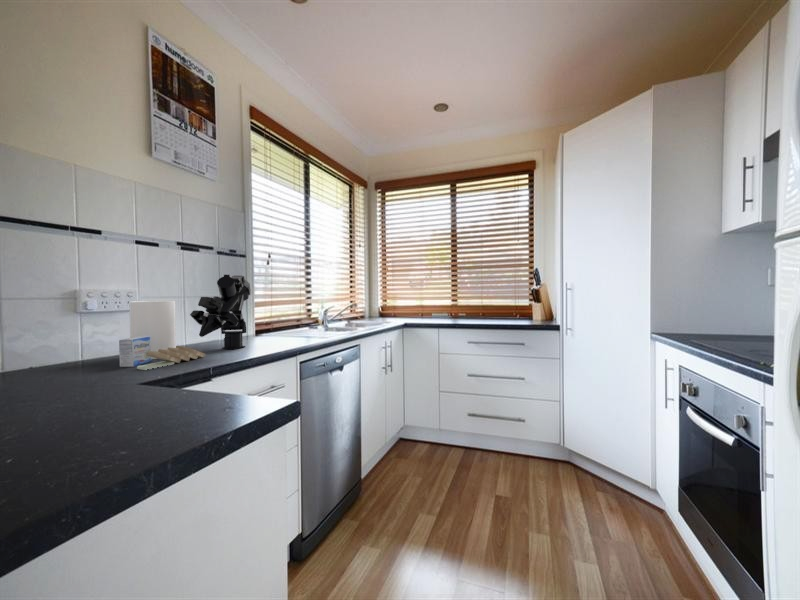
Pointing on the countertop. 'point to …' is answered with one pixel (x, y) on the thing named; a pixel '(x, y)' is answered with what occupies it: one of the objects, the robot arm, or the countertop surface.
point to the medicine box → (134, 351)
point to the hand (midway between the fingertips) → (200, 336)
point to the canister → (154, 323)
